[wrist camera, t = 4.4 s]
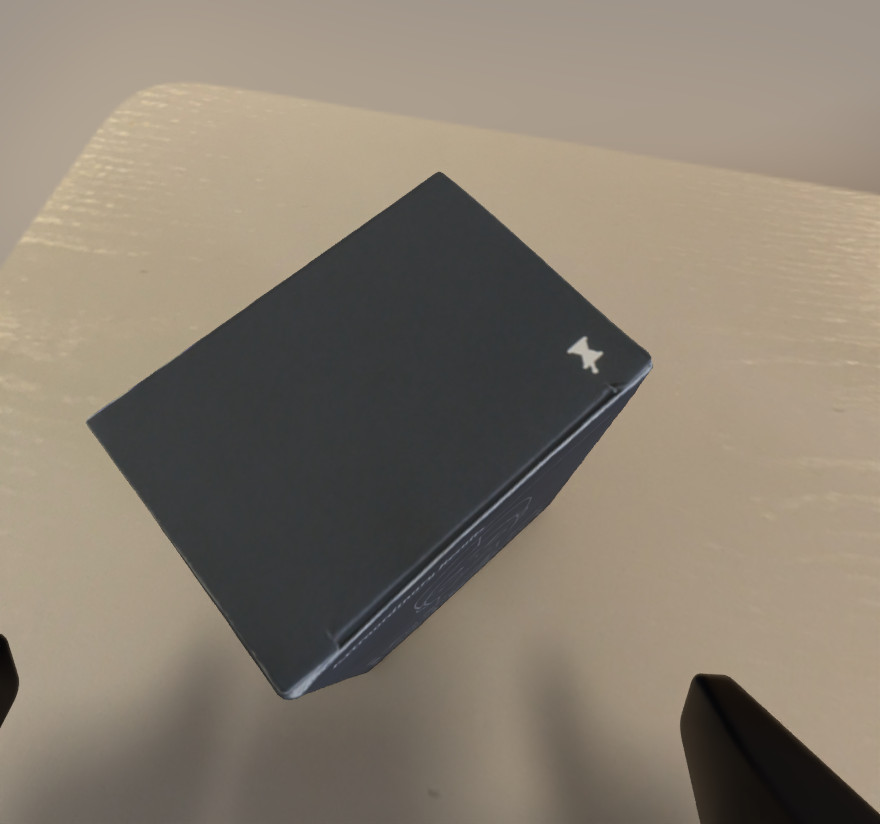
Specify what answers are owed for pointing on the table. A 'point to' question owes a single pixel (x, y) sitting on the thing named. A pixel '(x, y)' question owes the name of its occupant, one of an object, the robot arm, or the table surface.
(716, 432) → the table surface
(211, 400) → the box
